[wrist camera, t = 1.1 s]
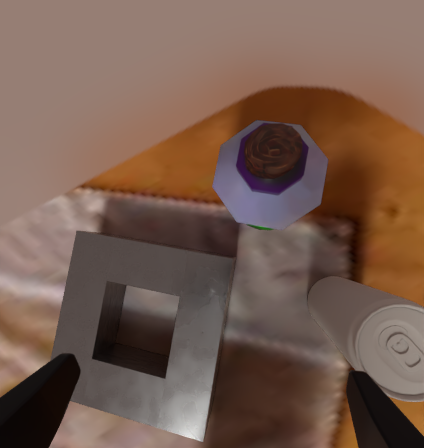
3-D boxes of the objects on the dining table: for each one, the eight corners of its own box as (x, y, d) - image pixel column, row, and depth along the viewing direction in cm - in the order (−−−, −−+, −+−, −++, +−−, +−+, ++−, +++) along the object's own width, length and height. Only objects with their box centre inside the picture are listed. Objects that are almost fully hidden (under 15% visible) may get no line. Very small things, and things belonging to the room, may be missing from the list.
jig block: (211, 411, 25) (203, 441, 21) (73, 372, 28) (44, 392, 24) (236, 257, 26) (233, 258, 22) (101, 233, 29) (76, 230, 25)
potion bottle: (231, 243, 26) (212, 240, 15) (215, 162, 27) (184, 98, 16) (319, 225, 25) (376, 206, 13) (299, 141, 26) (334, 54, 14)
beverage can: (335, 264, 25) (409, 280, 13) (373, 306, 24) (488, 364, 12) (295, 297, 25) (330, 340, 13) (330, 339, 24) (402, 426, 12)
